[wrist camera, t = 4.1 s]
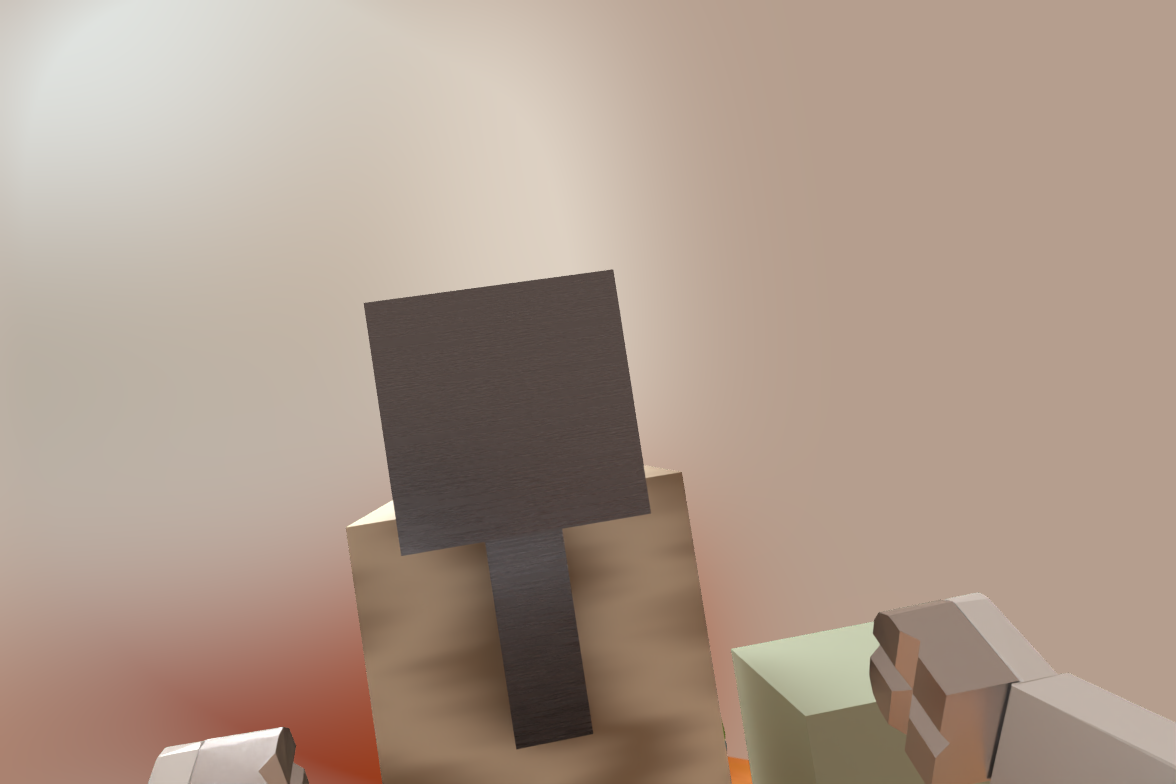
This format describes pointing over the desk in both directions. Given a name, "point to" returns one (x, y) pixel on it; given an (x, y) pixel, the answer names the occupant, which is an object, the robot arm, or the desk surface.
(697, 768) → the stand
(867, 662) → the block
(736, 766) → the desk surface
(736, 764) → the desk surface
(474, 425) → the grey t-shaped piece
